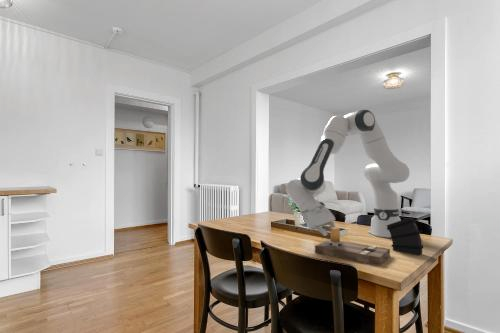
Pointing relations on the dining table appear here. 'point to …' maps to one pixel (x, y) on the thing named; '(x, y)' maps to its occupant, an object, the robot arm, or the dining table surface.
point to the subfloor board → (354, 252)
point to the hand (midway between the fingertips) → (331, 233)
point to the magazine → (406, 236)
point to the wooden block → (335, 236)
